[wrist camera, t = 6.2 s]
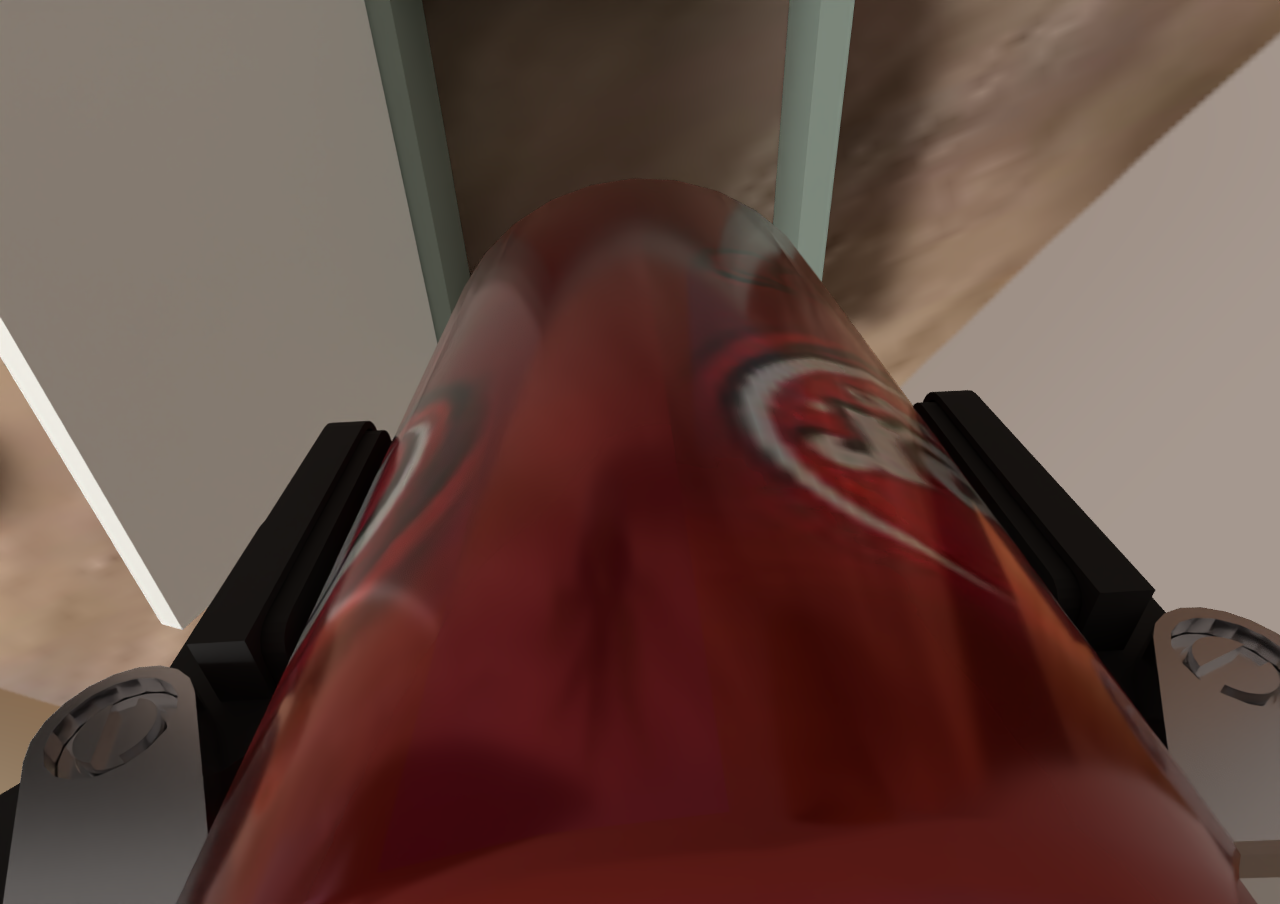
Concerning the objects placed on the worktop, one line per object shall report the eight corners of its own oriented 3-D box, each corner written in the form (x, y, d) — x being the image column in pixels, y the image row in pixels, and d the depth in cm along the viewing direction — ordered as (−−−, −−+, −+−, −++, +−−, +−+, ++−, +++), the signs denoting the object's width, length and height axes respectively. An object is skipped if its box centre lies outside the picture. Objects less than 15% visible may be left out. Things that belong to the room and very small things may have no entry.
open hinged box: (787, 327, 37) (928, 588, 21) (353, 348, 36) (157, 631, 20) (826, -87, 27) (1145, -193, 11) (234, -65, 27) (-318, -142, 11)
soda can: (801, 118, 12) (2049, 951, 2) (837, 464, 16) (1255, 1319, 6) (392, 228, 12) (-535, 1282, 2) (526, 532, 16) (404, 1399, 6)
